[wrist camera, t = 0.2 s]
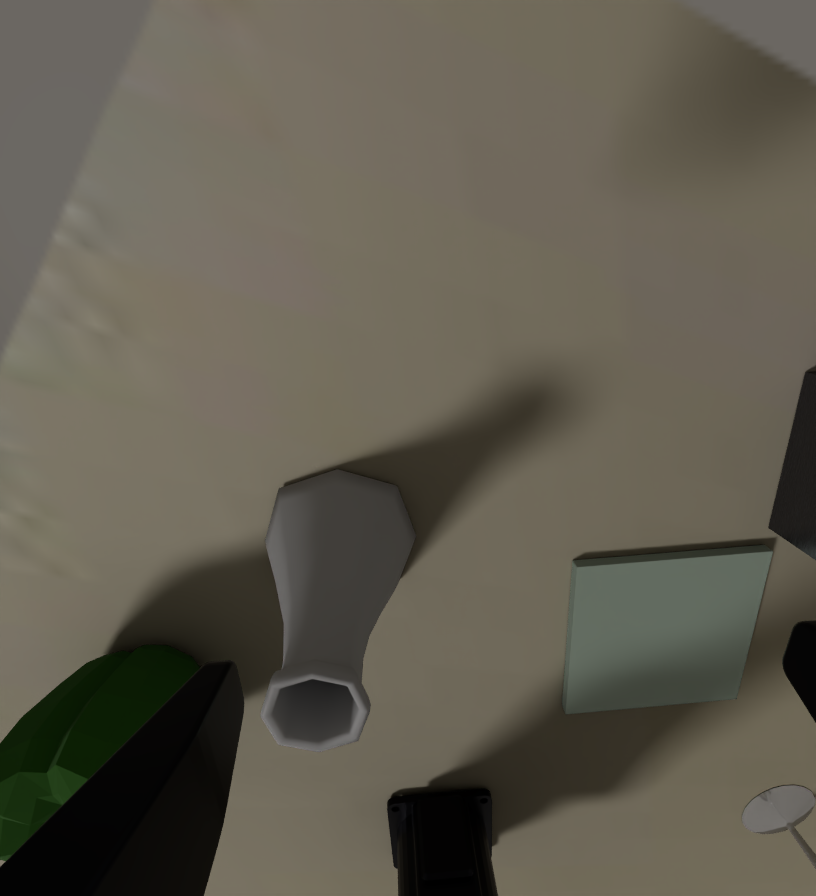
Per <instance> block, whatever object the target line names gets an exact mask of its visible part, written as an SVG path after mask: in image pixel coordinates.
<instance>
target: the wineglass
mask: <svg viewBox="0 0 816 896" xmlns="http://www.w3.org/2000/svg"><path fill="white" fill-rule="evenodd" d="M814 806H815V797H814V795H813V793H812V792H811V791H810V790H808V789H806V788H805V787H801V786H796V785H789V786H781V787H777V788H773V789H770V790H768V791H766V792H764V793H761V794H760V795H758V796H757V797H756V798H754V799H753V800H752V801H751V802H750V803H749V804H748V805H747V807H746V808H745V810H744V812H743V815H742V821H743V824H744V825H745V827H746V828H747V829H748V830H750V831H752V832H754V833H759V834H774V833H778V832H782V831H786V830H788V829H789V831H790V832H791V834H792V835H793V836H794V838H795V839H796V841H797V842H798V844H799V845H800V847H801V848H802V850H803V851H804V853H805V854H806V856H807V857H808V859H809V860H810V862H811V863H812V865H813V866H814V868H815V869H816V854H815V853H814V852H813V850H812V849H811V848H810V847H809V845H808V844H807V843H806V841H805V840H804V839H803V838H802V836H801V835H800V834H799V832H798V831H797V830H796V829H795V826H796V825H798V824H799V823H801V822H802V821H804V820H805V819H806V818H807V817H808V816H809V815H810V813H811V812H812V810H813V808H814Z"/></svg>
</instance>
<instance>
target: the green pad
mask: <svg viewBox="0 0 816 896" xmlns="http://www.w3.org/2000/svg"><path fill="white" fill-rule="evenodd" d="M772 554H773V551H772V550H771V549H769V548H768V547H767V546H765V545H755V546H743V547H731V548H719V549H706V550H694V551H682V552H670V553H658V554H645V555H633V556H621V557H609V558H596V559H584V560H573V561H572V575H571V589H570V602H569V616H568V630H567V643H566V657H565V671H564V684H563V698H562V707H563V709H564V712H565V714H576V713H587V712H598V711H609V710H620V709H631V708H642V707H654V706H665V705H676V704H687V703H698V702H709V701H720V700H731V699H737V695H738V691H739V687H740V683H741V679H742V675H743V671H744V667H745V663H746V659H747V655H748V651H749V647H750V643H751V639H752V635H753V631H754V627H755V622H756V618H757V614H758V610H759V606H760V602H761V598H762V594H763V590H764V586H765V582H766V578H767V574H768V570H769V566H770V562H771V558H772Z"/></svg>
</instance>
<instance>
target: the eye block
mask: <svg viewBox="0 0 816 896" xmlns="http://www.w3.org/2000/svg"><path fill="white" fill-rule="evenodd" d="M768 528H769V529H771V530H772V531H774V532H775V533H777V534H778V535H780V536H781V537H783V538H784V539H785V540H787V541H788V542H790V543H791V544H793V545H794V546H796V547H797V548H799V549H800V550H802V551H803V552H805V553H806V554H807V555H809V556H810V557H812V558H813V559H815V560H816V371H815V372H805V376H804V380H803V385H802V389H801V393H800V397H799V401H798V405H797V410H796V414H795V418H794V422H793V426H792V431H791V435H790V439H789V443H788V447H787V452H786V456H785V460H784V464H783V468H782V473H781V477H780V481H779V485H778V489H777V494H776V498H775V502H774V506H773V510H772V515H771V519H770V523H769V527H768Z"/></svg>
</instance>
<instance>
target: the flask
mask: <svg viewBox="0 0 816 896" xmlns="http://www.w3.org/2000/svg"><path fill="white" fill-rule="evenodd" d="M415 538H416V534H415V531H414V529H413V526H412V524H411V521H410V518H409V516H408V513H407V510H406V508H405V505H404V503H403V500H402V497H401V495H400V492H399V489H398V487H397V486H396V485H392V484H389V483H385V482H382V481H378V480H375V479H371V478H367V477H364V476H360V475H357V474H353V473H349V472H346V471H342V470H339V469H336V470H333V471H330V472H327V473H324V474H321V475H318V476H315V477H312V478H309V479H306V480H303V481H300V482H297V483H294V484H291V485H288V486H285V487H282V488H279V489H278V493H277V497H276V501H275V505H274V508H273V512H272V516H271V520H270V524H269V527H268V531H267V535H266V539H265V542H266V547H267V552H268V556H269V560H270V563H271V567H272V571H273V575H274V578H275V582H276V587H277V592H278V597H279V602H280V607H281V612H282V617H283V622H284V643H283V664H282V669H281V670H278V671H276V672H274V674H273V676H272V677H271V680H270V684H269V687H268V690H267V694H266V697H265V700H264V703H263V707H262V710H261V715H260V716H261V718H262V720H263V721H264V723H265V724H266V726H267V728H268V729H269V731H270V732H271V734H272V736H273V737H274V739H275V740H276V742H277V744H278V745H282V746H288V747H293V748H299V749H305V750H310V751H316V752H321V751H325V750H328V749H332V748H335V747H339V746H342V745H345V744H349V743H352V742H356V741H358V740H359V737H360V735H361V732H362V730H363V727H364V725H365V722H366V720H367V717H368V715H369V712H370V706H371V704H370V700H369V697H368V695H367V693H366V691H365V689H364V687H363V685H362V669H363V658H364V654H365V650H366V646H367V643H368V639H369V636H370V634H371V632H372V630H373V628H374V626H375V624H376V622H377V620H378V618H379V616H380V614H381V612H382V611H383V609H384V607H385V606H386V604H387V602H388V601H389V599H390V597H391V596H392V594H393V592H394V590H395V588H396V586H397V585H398V582H399V580H400V577H401V575H402V572H403V569H404V567H405V564H406V562H407V559H408V556H409V554H410V551H411V549H412V546H413V543H414V541H415Z"/></svg>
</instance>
